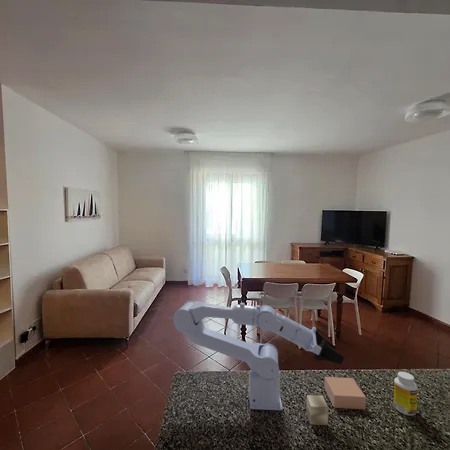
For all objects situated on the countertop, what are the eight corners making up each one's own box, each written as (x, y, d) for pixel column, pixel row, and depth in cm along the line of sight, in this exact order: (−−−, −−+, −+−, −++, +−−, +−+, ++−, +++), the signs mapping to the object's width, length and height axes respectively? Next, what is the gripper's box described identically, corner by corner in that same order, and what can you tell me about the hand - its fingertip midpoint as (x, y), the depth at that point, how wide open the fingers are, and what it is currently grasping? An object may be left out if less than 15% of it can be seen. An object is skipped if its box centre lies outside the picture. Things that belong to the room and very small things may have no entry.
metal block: (310, 424, 70) (311, 406, 70) (306, 412, 74) (306, 395, 74) (327, 425, 69) (327, 407, 69) (322, 412, 74) (322, 395, 74)
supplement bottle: (411, 419, 72) (412, 383, 71) (390, 407, 76) (390, 373, 76) (420, 411, 75) (421, 377, 74) (398, 400, 79) (399, 367, 79)
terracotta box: (334, 408, 76) (334, 395, 76) (324, 388, 85) (324, 376, 85) (365, 410, 75) (365, 397, 75) (352, 390, 84) (352, 378, 84)
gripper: (304, 326, 70) (352, 351, 68) (296, 314, 84) (336, 334, 82) (293, 350, 69) (341, 376, 67) (287, 333, 84) (327, 354, 82)
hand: (338, 355), depth 75 cm, fingers open, 7 cm apart
